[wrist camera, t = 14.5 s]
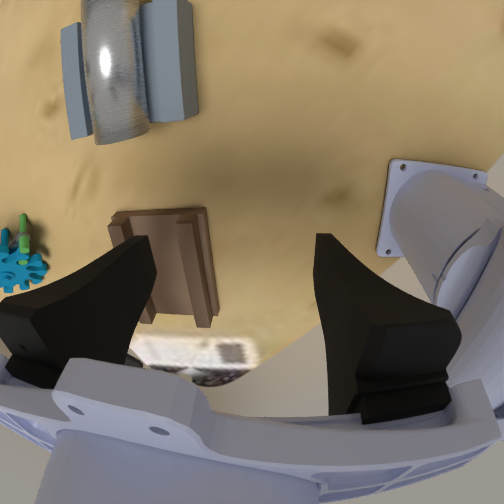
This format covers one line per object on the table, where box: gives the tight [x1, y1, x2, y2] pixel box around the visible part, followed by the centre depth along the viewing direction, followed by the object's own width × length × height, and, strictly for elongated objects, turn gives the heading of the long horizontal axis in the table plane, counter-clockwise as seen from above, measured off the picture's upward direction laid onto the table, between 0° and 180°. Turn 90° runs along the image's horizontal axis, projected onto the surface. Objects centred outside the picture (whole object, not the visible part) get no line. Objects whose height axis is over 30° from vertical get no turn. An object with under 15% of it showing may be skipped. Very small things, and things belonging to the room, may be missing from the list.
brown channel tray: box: [107, 208, 219, 328], centre depth 24 cm, size 8×10×2 cm
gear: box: [0, 214, 47, 293], centre depth 23 cm, size 11×6×10 cm
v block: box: [61, 0, 199, 140], centre depth 15 cm, size 8×8×4 cm
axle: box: [81, 0, 151, 145], centre depth 13 cm, size 10×4×4 cm, turn 2°
